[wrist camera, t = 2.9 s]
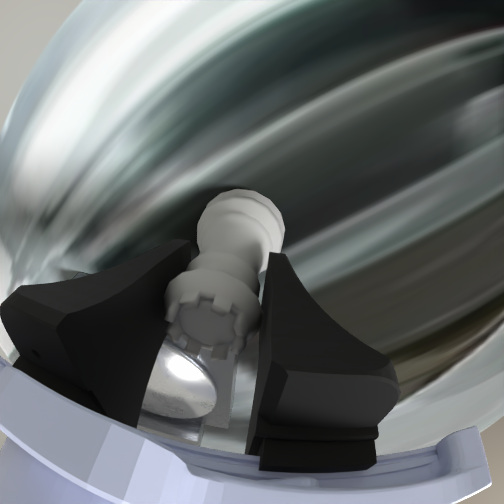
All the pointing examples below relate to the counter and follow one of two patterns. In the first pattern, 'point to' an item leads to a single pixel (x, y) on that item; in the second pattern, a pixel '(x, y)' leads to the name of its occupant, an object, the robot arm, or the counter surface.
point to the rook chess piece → (224, 275)
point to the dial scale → (187, 392)
